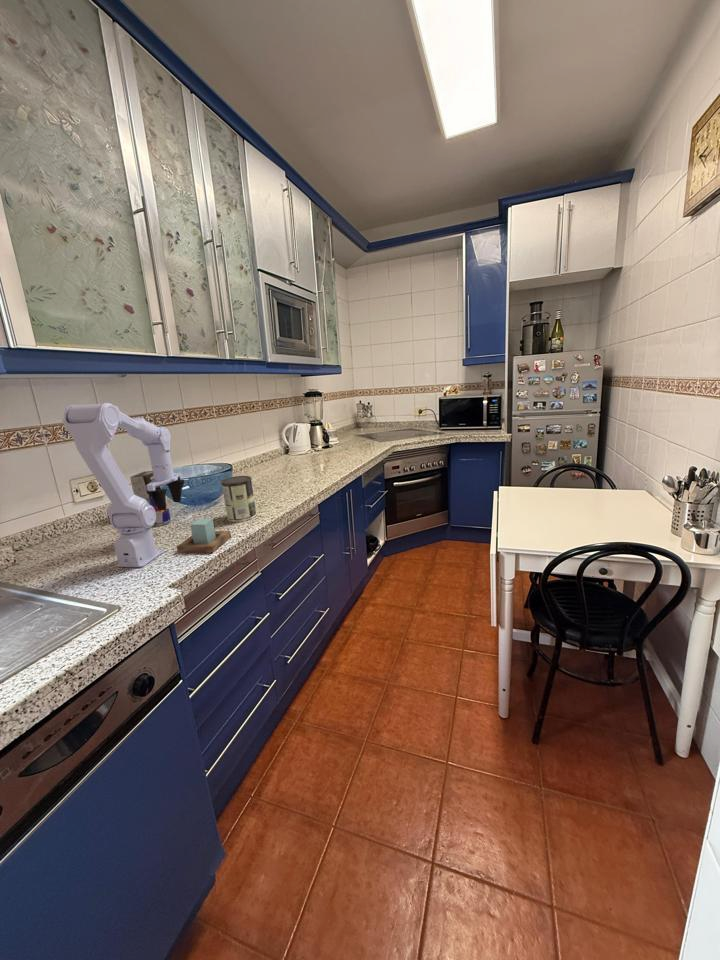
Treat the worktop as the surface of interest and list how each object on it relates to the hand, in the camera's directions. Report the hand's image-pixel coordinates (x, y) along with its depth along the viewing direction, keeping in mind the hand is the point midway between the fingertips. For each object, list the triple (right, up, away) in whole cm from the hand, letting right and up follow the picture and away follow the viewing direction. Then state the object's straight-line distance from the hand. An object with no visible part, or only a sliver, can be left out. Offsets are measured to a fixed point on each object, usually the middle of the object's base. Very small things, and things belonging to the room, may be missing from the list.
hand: (170, 505), depth 120 cm
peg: (+15, -11, -8) cm, 20 cm away
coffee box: (-18, -5, +23) cm, 30 cm away
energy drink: (-9, -7, +12) cm, 16 cm away
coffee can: (+19, -5, +14) cm, 24 cm away
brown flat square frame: (+15, -11, -8) cm, 20 cm away
